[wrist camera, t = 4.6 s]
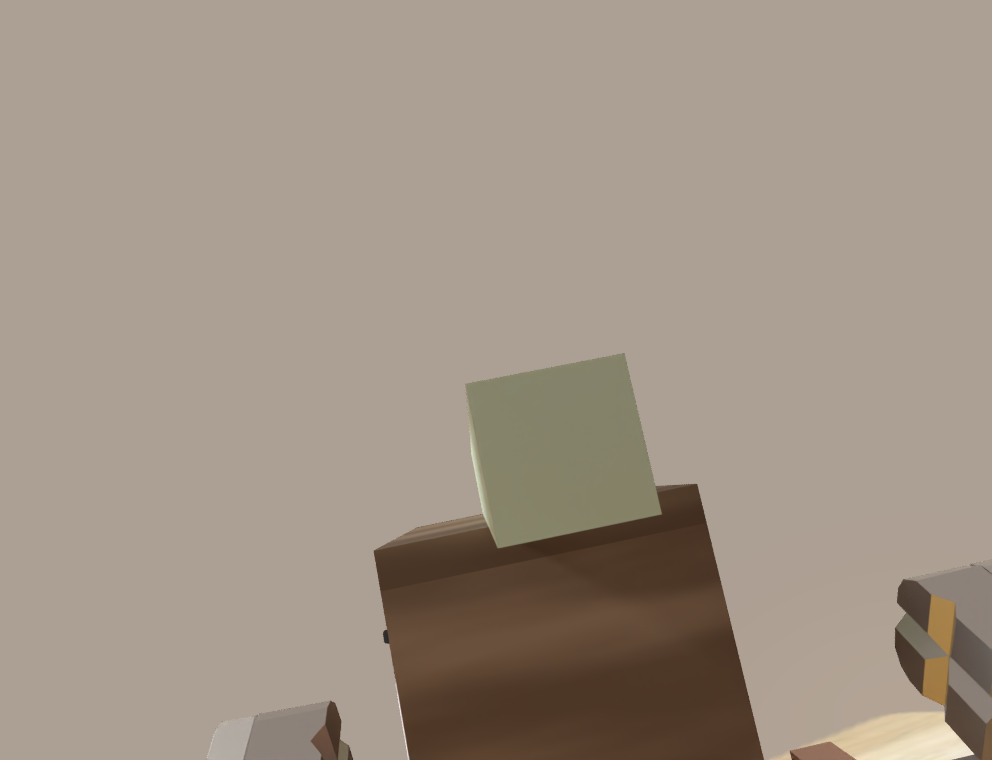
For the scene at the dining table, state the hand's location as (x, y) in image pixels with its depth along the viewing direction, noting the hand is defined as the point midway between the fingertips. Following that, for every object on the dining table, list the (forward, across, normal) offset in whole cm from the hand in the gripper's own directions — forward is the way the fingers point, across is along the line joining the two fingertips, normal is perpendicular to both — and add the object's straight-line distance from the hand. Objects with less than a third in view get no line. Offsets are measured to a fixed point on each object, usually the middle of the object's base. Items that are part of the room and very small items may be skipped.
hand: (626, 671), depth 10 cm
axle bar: (+13, 0, +6) cm, 14 cm away
